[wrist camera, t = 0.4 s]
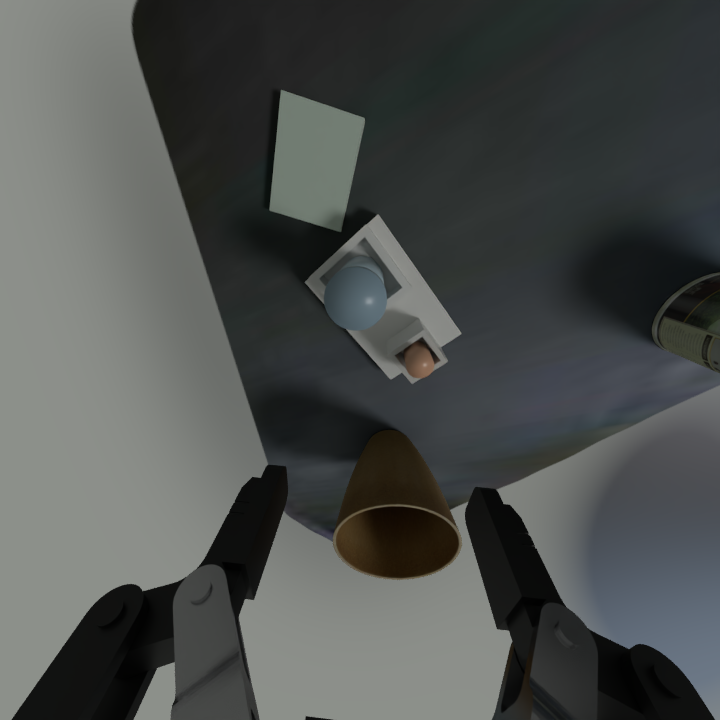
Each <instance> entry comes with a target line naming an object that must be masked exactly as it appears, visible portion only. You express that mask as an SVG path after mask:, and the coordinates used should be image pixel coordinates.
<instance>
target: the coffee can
mask: <svg viewBox="0 0 720 720" xmlns="http://www.w3.org/2000/svg"><path fill="white" fill-rule="evenodd" d="M652 336H653V340H654V342H655V343H656V344H657V345H658V346H659V347H660V348H661V349H663V350H665V351H668V352H671V353H674V354H676V355H679V356H681V357H683V358H686V359H688V360H690V361H692V362H695V363H697V364H699V365H702V366H704V367H706V368H709V369H711V370H713V371H715V372H718V373H720V272H718V273H713V274H709V275H706V276H703V277H700V278H698V279H696V280H694V281H692V282H690V283H688V284H686V285H685V286H683V287H682V288H680V289H679V290H678V291H677V292H675V293H674V294H673V295H672V296H671V297H669V298H668V299H667V301H666V302H665V303H664V304H663V305H662V307H661V308H660V309H659V311H658V313H657V314H656V316H655V318H654V321H653V325H652Z"/></svg>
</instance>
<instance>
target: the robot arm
mask: <svg viewBox="0 0 720 720" xmlns="http://www.w3.org/2000/svg"><path fill="white" fill-rule="evenodd" d="M287 496H288V482H287V470H286V467H285V466H277V465H267V467H266V468H265V470H264V472H263V475H262V477H261V478H256V477H252V478H251V479H250V480H249V481H248V482H247V483H246V484H245V485H244V486H243V487H242V488H241V491H240V492H239V494H238V496H237V498H236V500H235V503H234V504H233V505H232V508H231V509H230V511H229V514H228V515H227V517H226V519H225V521H224V523H223V525H222V527H221V528H220V530H219V532H218V534H217V536H216V538H215V540H214V542H213V544H212V546H211V548H210V549H209V551H208V553H207V556H206V557H205V559H204V560H203V562H202V563H201V564H200V565H199V567H198V568H197V569H196V570H195V571H193V572H192V573H191V574H189V575H188V576H187V577H185V578H184V579H182V580H180V581H178V582H175V583H172V584H169V585H165V586H161V587H157V588H154V589H150V590H147V591H142V589H141V588H140V587H139V586H137V585H134V584H127V585H122V586H120V587H117V588H115V589H113V590H111V591H110V592H108V593H107V594H105V595H104V596H103V597H101V598H100V599H99V600H98V601H97V602H96V603H95V604H94V605H93V606H92V607H91V608H90V610H89V611H88V612H87V613H86V615H85V616H84V618H83V619H82V620H81V622H80V623H79V625H78V626H77V628H76V629H75V630H74V632H73V633H72V635H71V636H70V638H69V639H68V640H67V642H66V643H65V645H64V646H63V647H62V649H61V650H60V652H59V653H58V655H57V656H56V657H55V659H54V660H53V662H52V663H51V664H50V666H49V667H48V669H47V670H46V672H45V673H44V674H43V676H42V677H41V679H40V680H39V681H38V683H37V684H36V686H35V687H34V689H33V690H32V691H31V693H30V694H29V696H28V697H27V698H26V700H25V701H24V703H23V704H22V706H21V707H20V708H19V710H18V711H17V713H16V714H15V716H14V717H13V719H12V720H133V719H134V717H135V715H136V713H137V711H138V709H139V706H140V704H141V702H142V700H143V698H144V696H145V693H146V691H147V689H148V687H149V685H150V682H151V680H152V678H153V676H154V674H155V671H156V669H157V668H158V667H161V666H164V665H167V664H170V663H173V662H175V682H176V694H175V701H174V703H173V705H172V710H171V720H259V715H258V710H257V705H256V700H255V696H254V692H253V688H252V683H251V678H250V673H249V668H248V664H247V658H246V653H245V648H244V642H243V637H242V633H241V627H240V622H239V614H240V611H241V608H242V605H243V603H244V600H245V599H251V600H254V598H255V595H256V591H257V589H258V586H259V583H260V580H261V577H262V574H263V571H264V567H265V565H266V562H267V559H268V556H269V553H270V550H271V547H272V544H273V541H274V538H275V535H276V532H277V529H278V526H279V523H280V520H281V517H282V514H283V511H284V508H285V505H286V501H287ZM465 520H466V526H467V529H468V532H469V535H470V539H471V543H472V546H473V549H474V553H475V556H476V559H477V563H478V566H479V569H480V573H481V576H482V580H483V583H484V586H485V590H486V593H487V596H488V600H489V603H490V607H491V610H492V613H493V617H494V620H495V624H496V627H497V629H500V630H509V631H510V635H511V638H512V641H513V642H512V644H511V647H510V651H509V655H508V660H507V664H506V668H505V672H504V676H503V681H502V685H501V689H500V694H499V698H498V702H497V706H496V710H495V713H494V716H493V718H492V720H715V719H714V717H713V716H712V714H711V713H710V711H709V710H708V708H707V707H706V705H705V704H704V702H703V701H702V699H701V698H700V696H699V695H698V693H697V691H696V690H695V688H694V687H693V685H692V684H691V683H690V681H689V680H688V679H687V677H686V676H685V675H684V673H683V672H682V671H681V670H680V669H679V668H678V667H677V666H676V665H675V664H674V663H673V662H672V661H671V660H670V659H668V658H667V657H666V656H665V655H663V654H662V653H661V652H659V651H657V650H655V649H654V648H652V647H650V646H647V645H644V644H638V645H635V646H633V647H632V648H630V649H627V648H625V647H623V646H621V645H619V644H617V643H615V642H613V641H611V640H609V639H607V638H605V637H603V636H600V635H598V634H596V633H595V632H593V631H591V630H589V629H588V628H587V627H586V626H585V624H584V623H583V622H582V621H581V619H580V618H579V617H578V616H576V615H575V613H573V612H572V611H571V610H569V609H568V608H567V607H566V606H565V604H564V603H563V601H562V600H561V598H560V596H559V594H558V592H557V590H556V588H555V586H554V584H553V582H552V580H551V578H550V576H549V574H548V572H547V570H546V568H545V566H544V563H543V561H542V559H541V557H540V555H539V553H538V551H537V549H535V545H534V543H533V541H532V539H531V537H530V536H529V535H528V531H527V529H526V527H525V525H524V523H523V521H522V519H521V517H520V516H519V515H518V514H517V513H516V511H515V510H514V509H513V508H512V507H511V506H510V505H506V504H503V502H502V500H501V498H500V495H499V493H498V492H497V490H495V489H491V488H482V487H475V488H474V490H473V493H472V495H471V498H470V500H469V502H468V505H467V507H466V512H465ZM306 720H331V719H323V718H315V717H307V716H306Z"/></svg>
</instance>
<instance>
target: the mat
mask: <svg viewBox="0 0 720 720" xmlns="http://www.w3.org/2000/svg"><path fill="white" fill-rule="evenodd" d="M364 124H365V118H363V117H360V116H357V115H354V114H351V113H348V112H345V111H342V110H339V109H336V108H333V107H330V106H327V105H324V104H321V103H318V102H316V101H313V100H310V99H307V98H304V97H301V96H298V95H295V94H292V93H289V92H286V91H283V90H281V95H280V106H279V116H278V126H277V137H276V147H275V158H274V168H273V178H272V189H271V199H270V211H273V212H276V213H280V214H283V215H286V216H289V217H293V218H296V219H299V220H302V221H306V222H309V223H312V224H315V225H319V226H322V227H325V228H329V229H332V230H335V231H338V232H341V231H342V226H343V221H344V217H345V212H346V207H347V203H348V198H349V194H350V189H351V184H352V180H353V175H354V170H355V166H356V161H357V156H358V152H359V147H360V143H361V138H362V133H363V129H364Z"/></svg>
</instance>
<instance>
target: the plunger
mask: <svg viewBox="0 0 720 720" xmlns="http://www.w3.org/2000/svg"><path fill="white" fill-rule="evenodd" d="M403 354H404V359H405V364H406V369H407V372H408V373H409V375H411V376H412V377H414V378H424V377H427V376H428V375H430V374H431V373H432V371H433V369H434V361H433V359H432V356H431V354H430V352H429V349H428V347H427V345H426V344H425V343H423V342H420V341H415V342H414V343H412V344H411V345H409V346H408V347H406V348H405V349H404V352H403Z"/></svg>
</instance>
